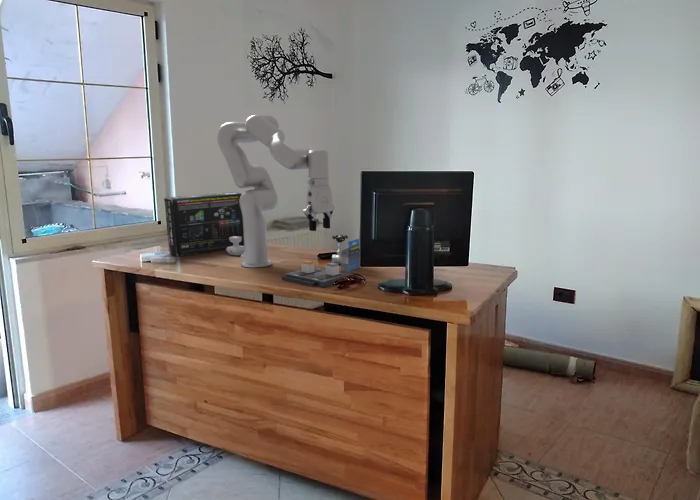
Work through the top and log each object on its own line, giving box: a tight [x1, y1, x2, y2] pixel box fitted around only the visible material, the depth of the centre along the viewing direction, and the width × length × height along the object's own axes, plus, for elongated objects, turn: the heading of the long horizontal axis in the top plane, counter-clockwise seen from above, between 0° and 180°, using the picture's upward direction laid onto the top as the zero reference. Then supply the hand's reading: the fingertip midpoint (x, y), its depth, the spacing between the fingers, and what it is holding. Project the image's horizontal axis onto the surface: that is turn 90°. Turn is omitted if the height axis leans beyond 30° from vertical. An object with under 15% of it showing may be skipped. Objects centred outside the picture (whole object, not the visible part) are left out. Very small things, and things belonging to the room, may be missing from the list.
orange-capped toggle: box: [300, 260, 315, 273], centre depth 212 cm, size 4×3×4 cm
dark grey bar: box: [281, 275, 315, 288], centre depth 205 cm, size 16×1×1 cm, turn 49°
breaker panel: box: [284, 267, 350, 288], centre depth 210 cm, size 20×14×2 cm
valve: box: [331, 234, 349, 265], centre depth 234 cm, size 7×7×12 cm
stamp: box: [225, 236, 244, 257], centre depth 257 cm, size 9×7×8 cm
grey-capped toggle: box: [325, 261, 340, 276], centre depth 208 cm, size 4×3×4 cm
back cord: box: [318, 267, 355, 276], centre depth 217 cm, size 18×1×1 cm, turn 49°
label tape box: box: [340, 238, 360, 273], centre depth 224 cm, size 9×4×12 cm, turn 149°
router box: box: [163, 191, 244, 257], centre depth 266 cm, size 36×11×27 cm, turn 127°
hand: (319, 229), depth 215 cm, fingers open, 6 cm apart
